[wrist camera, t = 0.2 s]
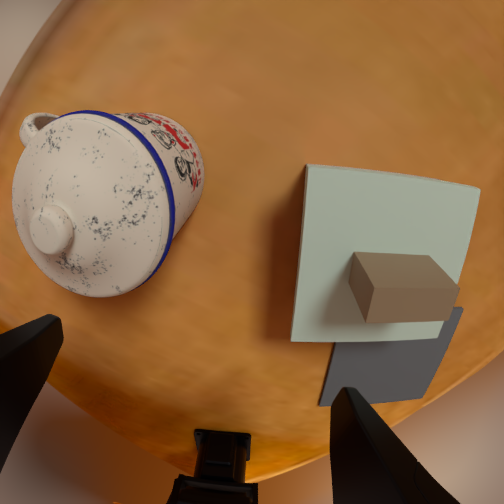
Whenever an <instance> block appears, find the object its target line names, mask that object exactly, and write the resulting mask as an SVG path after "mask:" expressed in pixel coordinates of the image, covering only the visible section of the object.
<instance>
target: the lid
mask: <svg viewBox="0 0 504 504" xmlns="http://www.w3.org/2000/svg"><path fill="white" fill-rule="evenodd" d="M480 191H481V190H480V189H478V188H476V187H474V186H469V185H464V184H458V183H453V182H447V181H441V180H435V179H429V178H423V177H416V176H409V175H402V174H394V173H387V172H378V171H370V170H361V169H351V168H341V167H330V166H318V165H306V180H305V193H304V205H303V217H302V229H301V240H300V250H299V260H298V270H297V280H296V289H295V298H294V306H293V315H292V323H291V331H290V338H291V342H370V341H398V340H417V339H432V338H437V337H438V335H439V333H440V330H441V328H442V325H443V322H444V321H448V320H449V318H450V315H451V312H452V310H453V307H454V304H455V302H456V299H457V296H458V293H459V290H460V288H459V286H458V285H457V283H458V280H459V277H460V273H461V270H462V267H463V263H464V260H465V256H466V253H467V249H468V245H469V241H470V238H471V234H472V229H473V225H474V221H475V216H476V211H477V207H478V202H479V196H480Z"/></svg>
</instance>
